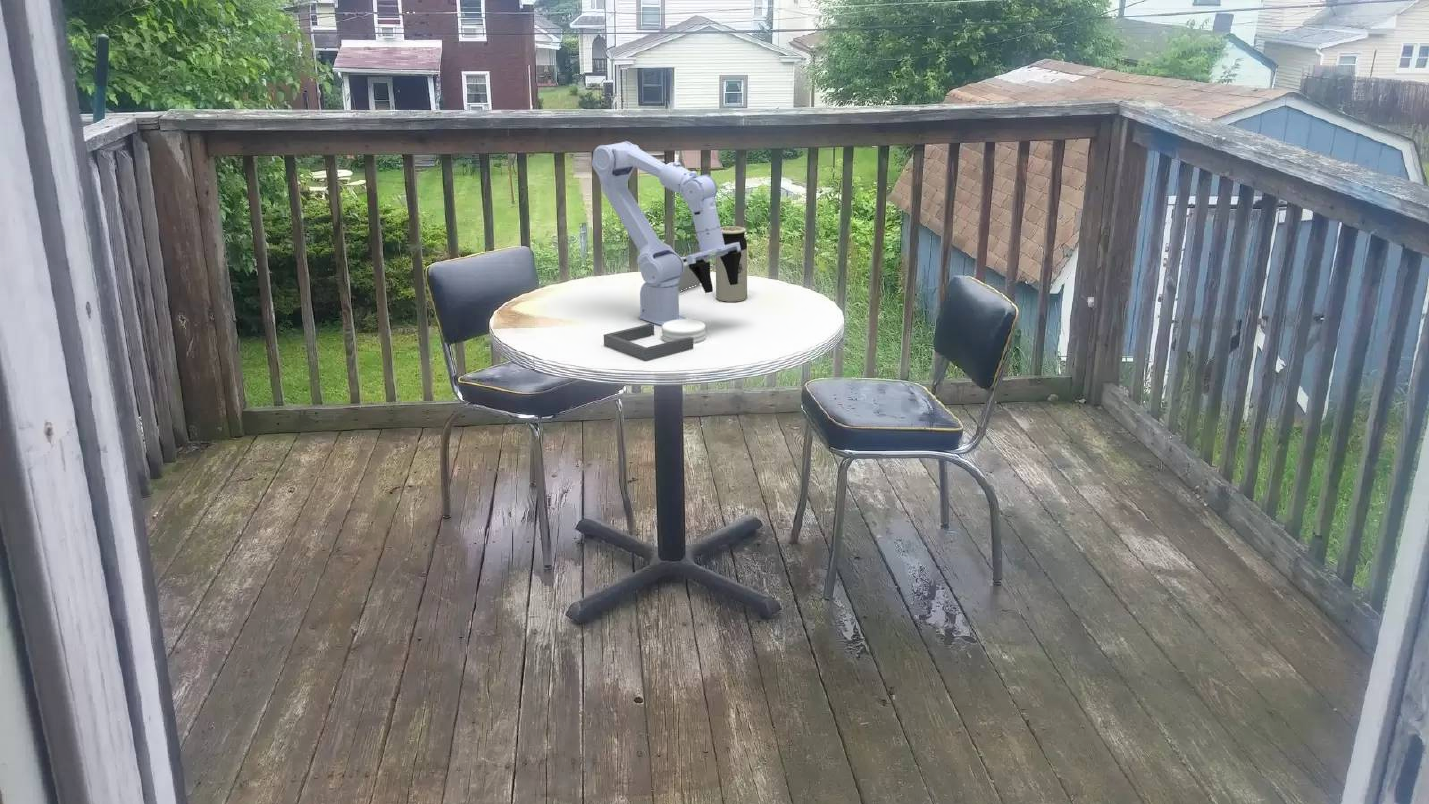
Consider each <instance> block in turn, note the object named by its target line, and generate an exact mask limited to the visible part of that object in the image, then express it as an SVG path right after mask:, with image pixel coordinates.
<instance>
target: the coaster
mask: <svg viewBox="0 0 1429 804" xmlns="http://www.w3.org/2000/svg"><path fill="white" fill-rule="evenodd" d="M706 328H707V327H706V324H705V323H704V322H703V321H701V320H698V319H691V318H690V319H689V318H687V319H678V320H672V321H668V322H666V323H664V324H663V325H661V330H662V331H661V335H662V336H661V339H662V341H664V343H666V342H670V341H674V340H678V339H682V338H686V337H692V338H693V343H694V344H698V342H699V343H701V342H703V341H705V339H706V338H707V335H706V332H707V330H706Z"/></svg>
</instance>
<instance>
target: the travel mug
mask: <svg viewBox="0 0 1429 804" xmlns="http://www.w3.org/2000/svg"><path fill="white" fill-rule="evenodd" d="M721 230H722V235H723V239H724V244H725V245H727V244H731V243H736V242H739V244H740V248H741V250H739V251H737V252H740V251H741V254H742V256H741V259H740V263H739V268H738V284H736V285H730V283H729V280H728V276H727V272H726V269H725V266H724V264H723V262H722V260H721V258H720V257H721V256H724V255H725V254H724V255H721V256H717V257H715V298H716V300H718V301H721V302H723V301H726V302H725V303H738V301H739V302H742V301H745V300H746V299H747V298H748V241H747V239H746V237H745V233H746V231H747V228H745V227H742V226H738V225H737V226H736V225H735V226H734V225H733V226H732V225H730V226H721ZM719 253H723V252H719ZM719 253H718V252H717V253H715V255H716V254H719Z"/></svg>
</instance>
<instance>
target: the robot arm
mask: <svg viewBox="0 0 1429 804" xmlns="http://www.w3.org/2000/svg"><path fill="white" fill-rule="evenodd" d="M591 166H592V168H593V170H594V171H595V173H596V174H597V176H598V179H599V183H600V186H601V189H602V192H603V194H604V196H605V197H606V200H608V202H609V204H610V206H611V207H612V208H613V211H614V212H615V214H616V215H617V217H618V218H619V220H620V222H621V223H622V225H623V226H624V229H625V230H626V232H627V234H628V235H629V237H630V239H631V240H632V242H633V243H634V245H635V246H636V249H637V250H638V252H639V255H638V257H637V260H636V264H637V265H638V267H639V269H640V274H641V277H642V279H643V281H644V283H643V284H642V285H641V287H640V292H639V298H640V300H639V302H640V303H639V304H640V315H637V318H638V319H640V320H643V321H647V322H650V323H651V324H655V325H658V326H662V325H663V324H664V323H666V322H668V321H672V320H678V319H688V318H687V317H686V316H683V315H681V314H680V304H679V303H680V299H679V297H680V294H679V293H680V292H679V291H678V282H680V277H681V276H682V274H683V272H684V262H683V260H682V258H681V257H682V256H680V254H678V253H677V252H675V250H674V249H673V248H672V246H671V245H668V244H667V243H665V242H663V241H661V240H660V239H659V236H658V235H657V233H656V232H655V231H654V229H653V227H652V226H651V224H650V222H649V220H648V219H647V217H646V216H645V213H644V212H643V210H642V209H641V207H640V205H639V204H638V202H637V201H636V199H635V197H634V196H633V194H632V192H631V191H630V189H629V187H628V186H627V185H628V181H629V180H630V178H631V175H632V174H633V172H634V169H635V168H636V169H638V170H640V171H643V172H645V173H647V174H649V175H652V176H653V177H656V178H658V179H659V182H660V184H661V185H662V186H663V187H665V188H667V189H668V190H671V191H673V192H675V193H676V194H679V195H680V196H681V197H682V199H683V200H684V202H685V203H686V204H687V206H688V209H689V211H690V212H691V215H692V220H693V224H694V229H695V234H696V237H697V242H698V246H699V247H698V248H699V250H700V251H697V252H696V253H692V254H689V255H686V256H685V257H686V259H687V264H689V269H690V270H691V271H692V272H693V273H694V274H695V275H696V277H697V278H698V280H699V281H700V285H701V288H702V289H703V290H704V293H705V294H707V293H708V294H709V293H712V292H714V286H713V282H712V279H711V278H712V277H711V261H706V260H710V259H715V258H716V257H717V256H721V255H724V254H725V255H724V256H721V257H720V258H721V260H722V262H723V264H724V266H725V269H726V272H727V276H728V280H729V283H730V285H736V284H738V268H739V263H740V259H741V256H742V254H741V251H740V252H737V251H739V250H741V248H740V244H739V242H736V243H731V244H727V245H725V244H724V239H723V235H722V230H721V227H722V226H721V221H720V217H719V213H718V209H717V203H716V199H715V198H716V196H717V193H718V185H717V183H716V180H715V178H713V177H711V176H710V174H701V175H698V173H697V171H695V170H692V171H691V170H690V169H687V168H685V167H684V166H682V163H680V162H679V161H674V162H673V161H672V162H671V161H670V162H669V163H668V162H667V164H666V163H664V162H662V161H661V160H660V159H657V158H656V157H654V156H653V155H651V154H649V153H647V152H646V151H644V150H642V149H641V148H640V147H639V146H638V145H637V144H633V143H632V142H631V141H627V140H626V141H621V142H617V143H613V144H612V143H611V144H605V145H604V144H600V145H598V146H597V147H595V149H594V151H593V154H592V161H591ZM717 252H718V253H719V252H723V253H719V254H716V253H717ZM711 254H712V255H711Z"/></svg>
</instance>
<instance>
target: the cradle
mask: <svg viewBox="0 0 1429 804" xmlns="http://www.w3.org/2000/svg"><path fill="white" fill-rule="evenodd" d="M654 324H655V323H648V324H642V325H639V326H634V327H631V328H626V329H622V330H618V331H613V332H610V333H605V334H603V345H604V346H605V347H608V348H610V349H612V350H615V351H617V352H620V353H623V354H626V355H629V356H631V357H633V358H636V359H639V360H642V361H644V362H647V361H652V360H654V359H659V358H662V357H667V356H671V355H675V354H678V352H679V353H681V352H680V351H682V352H685V351H689V349H690V350H693V349H694V344H693V338H692V337H686V338H682V339H678V340H674V341H670V342H664V343H659V344H654V345H651V346H643V345H640V344H638V343H635V342H632V341H635V340H640V339H644V338H648V337H652V336H651V335H653V336H655V325H654Z"/></svg>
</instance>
